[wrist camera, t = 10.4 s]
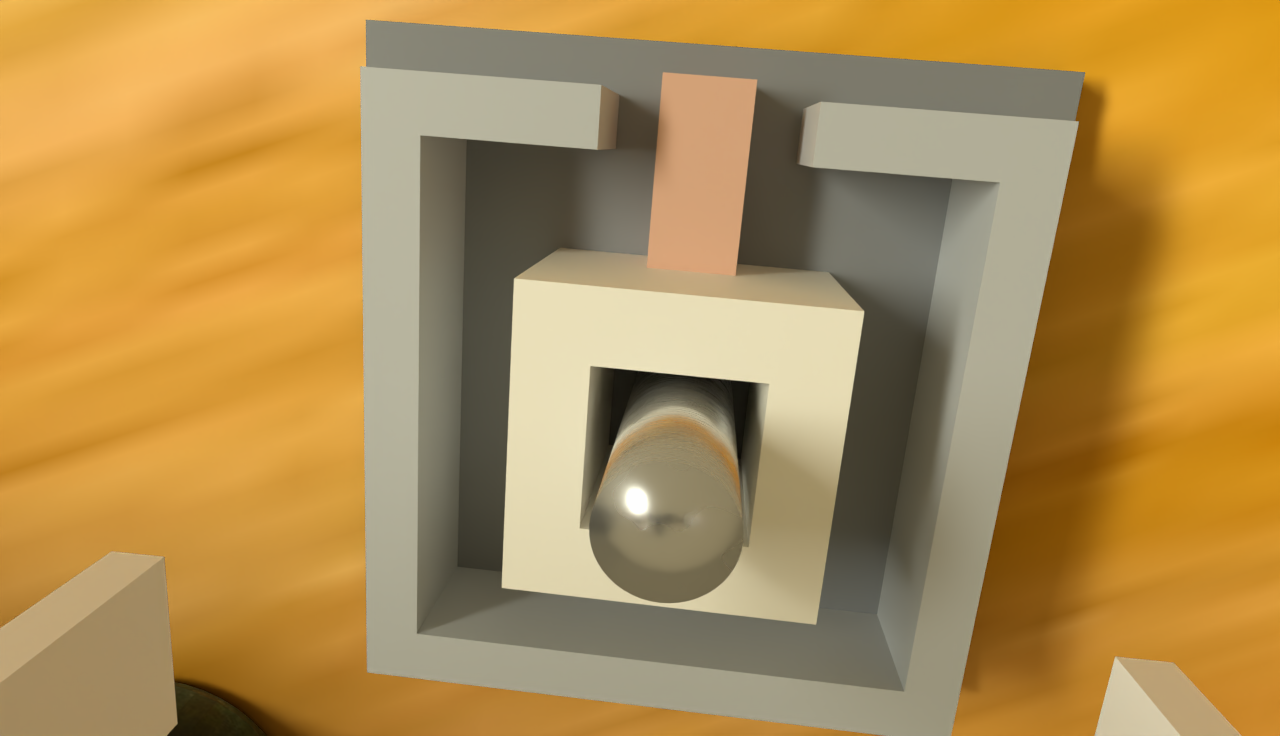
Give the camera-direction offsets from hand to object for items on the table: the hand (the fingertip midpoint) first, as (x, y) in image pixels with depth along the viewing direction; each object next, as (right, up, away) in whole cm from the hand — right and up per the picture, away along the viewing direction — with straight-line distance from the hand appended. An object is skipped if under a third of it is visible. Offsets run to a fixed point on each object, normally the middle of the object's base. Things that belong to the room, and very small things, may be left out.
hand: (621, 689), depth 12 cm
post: (+2, +4, +14) cm, 15 cm away
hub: (+2, +6, +13) cm, 15 cm away
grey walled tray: (+2, +4, +15) cm, 16 cm away
